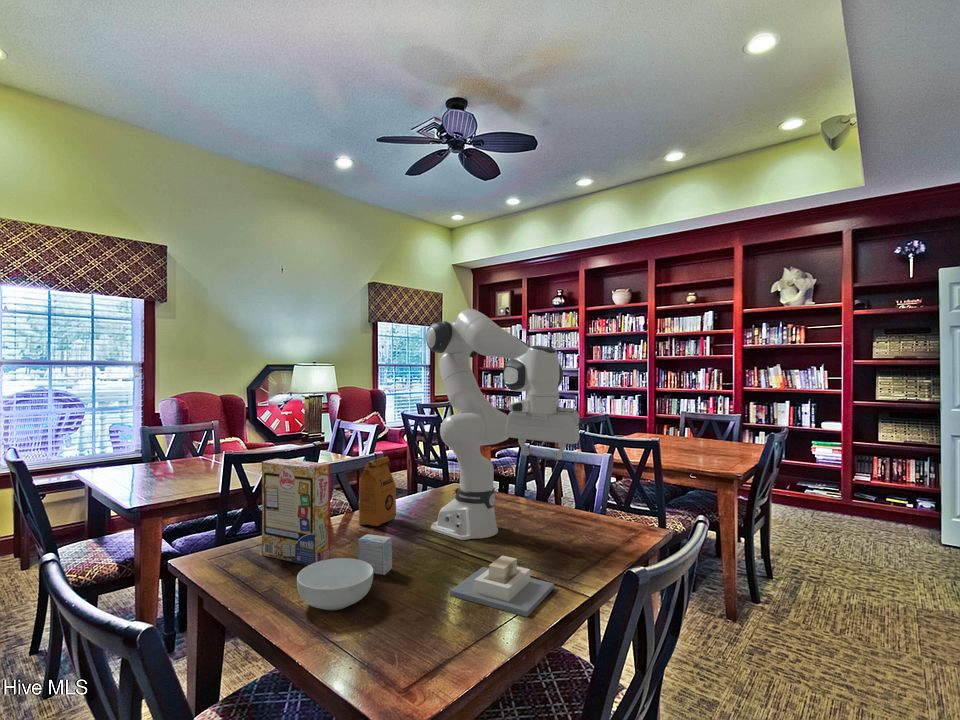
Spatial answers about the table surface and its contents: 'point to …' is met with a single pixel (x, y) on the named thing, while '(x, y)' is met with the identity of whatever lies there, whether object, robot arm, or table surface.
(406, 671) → the table surface
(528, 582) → the cradle
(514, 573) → the key block
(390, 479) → the coffee package
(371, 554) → the medicine box
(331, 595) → the cereal bowl
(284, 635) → the table surface
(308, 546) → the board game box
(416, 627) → the table surface
